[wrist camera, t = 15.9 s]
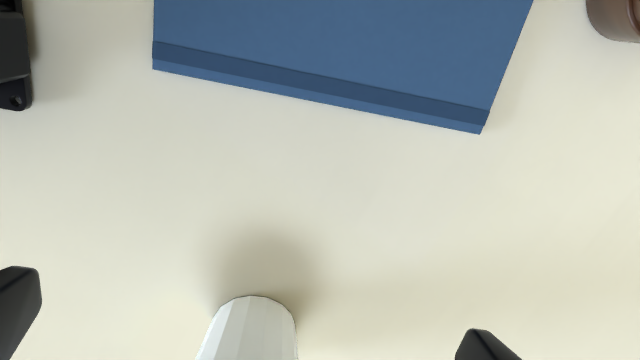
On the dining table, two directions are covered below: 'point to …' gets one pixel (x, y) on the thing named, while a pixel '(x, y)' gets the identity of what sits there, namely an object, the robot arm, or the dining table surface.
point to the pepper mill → (616, 19)
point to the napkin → (350, 52)
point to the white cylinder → (250, 332)
